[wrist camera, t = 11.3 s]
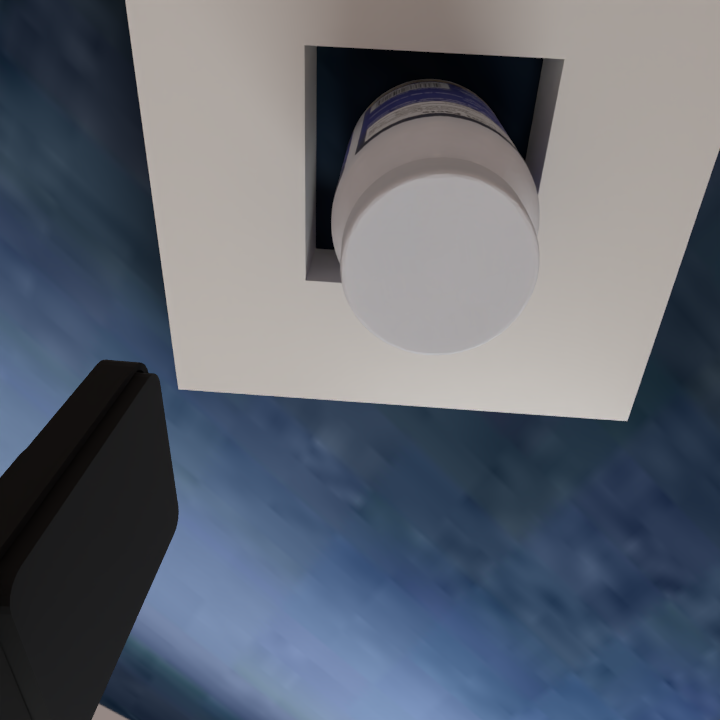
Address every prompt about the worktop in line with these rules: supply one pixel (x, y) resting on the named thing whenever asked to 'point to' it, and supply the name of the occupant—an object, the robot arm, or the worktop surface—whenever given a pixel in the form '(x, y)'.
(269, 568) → the worktop surface
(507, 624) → the worktop surface
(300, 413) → the worktop surface
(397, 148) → the pill bottle
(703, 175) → the socket block
